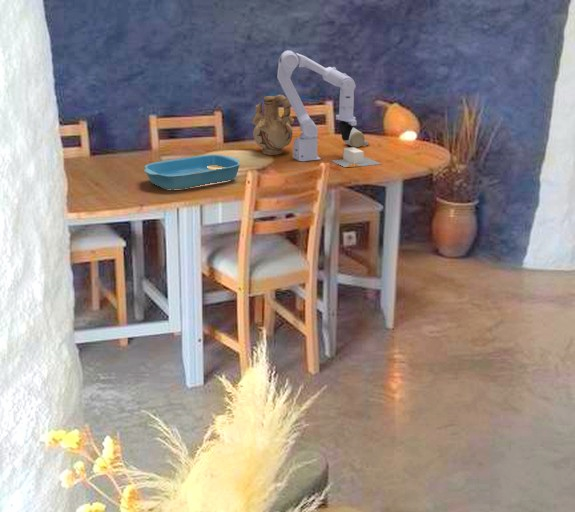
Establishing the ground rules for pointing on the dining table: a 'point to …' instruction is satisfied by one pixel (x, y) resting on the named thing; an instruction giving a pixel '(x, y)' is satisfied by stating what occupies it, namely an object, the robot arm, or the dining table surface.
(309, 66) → the robot arm
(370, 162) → the slate mat
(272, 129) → the ceramic vessel
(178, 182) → the casserole dish
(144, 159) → the dining table surface
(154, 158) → the dining table surface
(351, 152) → the off-white block
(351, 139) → the ceramic mug
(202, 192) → the dining table surface
